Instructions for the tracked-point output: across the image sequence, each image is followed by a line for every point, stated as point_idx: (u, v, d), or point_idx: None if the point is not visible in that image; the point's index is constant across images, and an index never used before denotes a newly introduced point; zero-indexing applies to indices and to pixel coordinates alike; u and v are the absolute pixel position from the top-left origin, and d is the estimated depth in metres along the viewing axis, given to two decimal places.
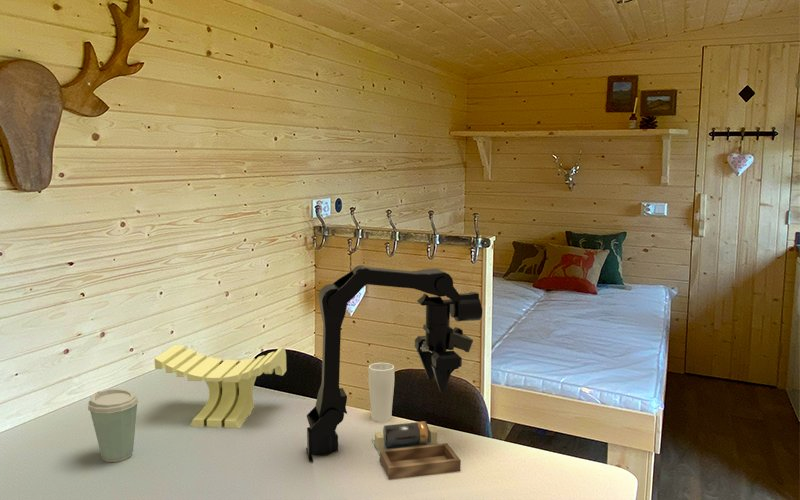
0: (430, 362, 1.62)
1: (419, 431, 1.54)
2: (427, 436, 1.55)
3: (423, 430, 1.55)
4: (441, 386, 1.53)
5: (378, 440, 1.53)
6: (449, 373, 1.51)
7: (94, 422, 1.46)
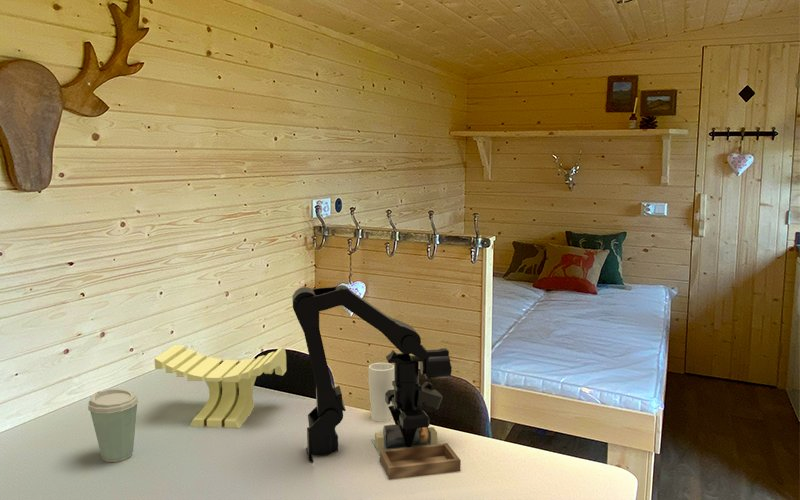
0: None
1: (419, 431, 1.54)
2: (427, 436, 1.55)
3: (423, 430, 1.55)
4: (407, 441, 1.53)
5: (378, 440, 1.53)
6: (415, 429, 1.52)
7: (94, 422, 1.46)
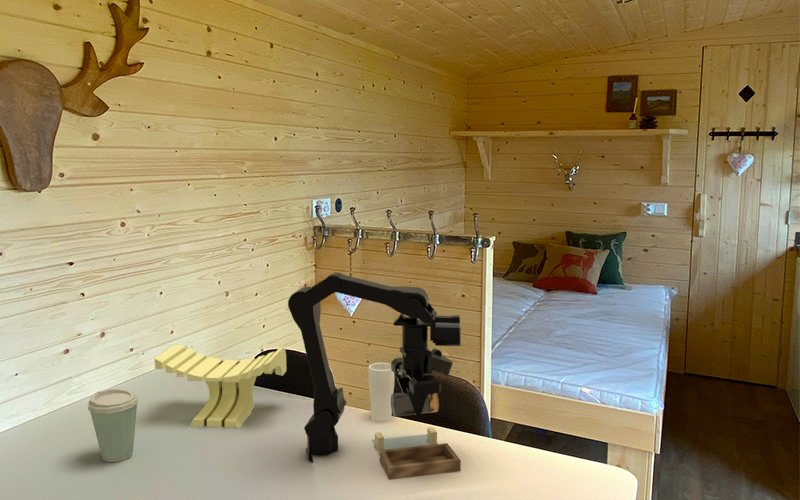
0: None
1: (429, 399, 1.47)
2: (437, 404, 1.47)
3: (433, 398, 1.47)
4: (417, 410, 1.45)
5: (378, 440, 1.53)
6: (425, 396, 1.44)
7: (94, 422, 1.46)
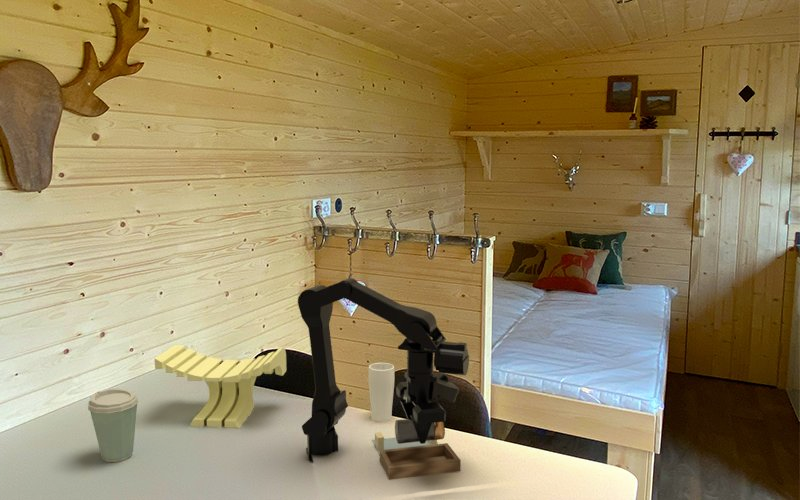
0: None
1: (434, 426, 1.43)
2: (443, 431, 1.43)
3: (438, 425, 1.43)
4: (421, 437, 1.41)
5: (378, 440, 1.53)
6: (429, 423, 1.40)
7: (94, 422, 1.46)
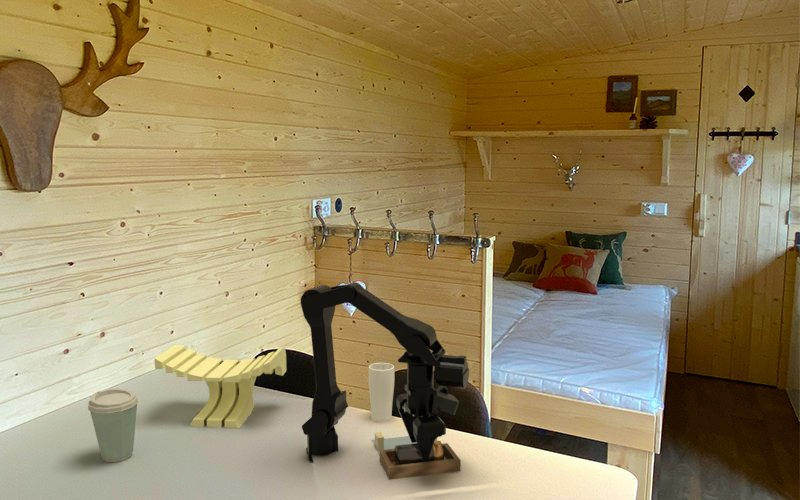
0: (413, 423, 1.49)
1: (433, 451, 1.44)
2: (442, 456, 1.44)
3: (437, 450, 1.44)
4: (424, 454, 1.39)
5: (378, 440, 1.53)
6: (432, 440, 1.38)
7: (94, 422, 1.46)
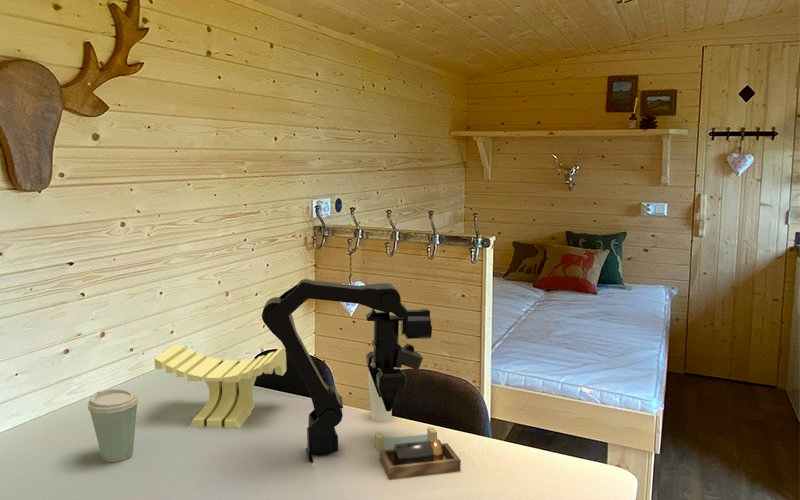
0: None
1: (432, 446, 1.45)
2: (441, 452, 1.44)
3: (436, 445, 1.45)
4: (387, 405, 1.48)
5: (378, 440, 1.53)
6: (395, 392, 1.47)
7: (94, 422, 1.46)
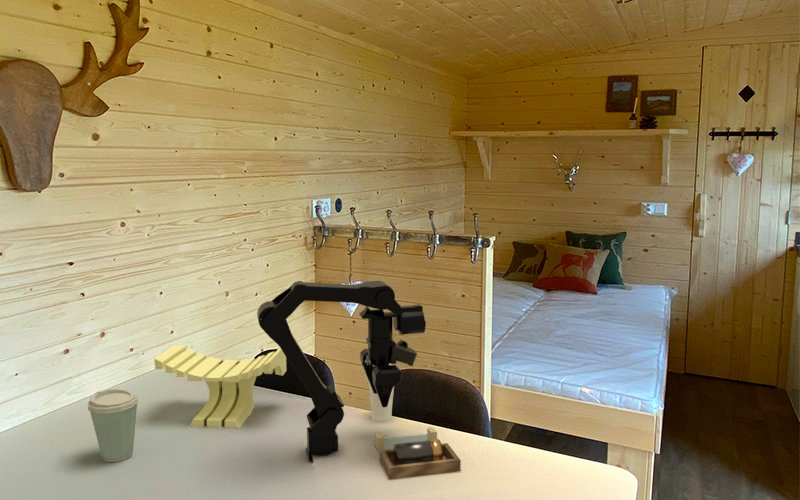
0: None
1: (431, 446, 1.45)
2: (440, 451, 1.45)
3: (435, 445, 1.45)
4: (383, 401, 1.49)
5: (378, 440, 1.53)
6: (390, 388, 1.48)
7: (94, 422, 1.46)
